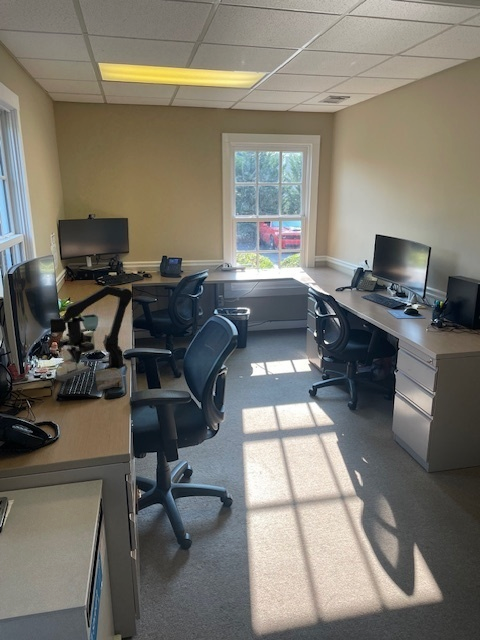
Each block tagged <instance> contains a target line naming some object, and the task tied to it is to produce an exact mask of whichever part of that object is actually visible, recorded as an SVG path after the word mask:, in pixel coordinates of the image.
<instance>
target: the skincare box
mask: <svg viewBox="0 0 480 640" xmlns="http://www.w3.org/2000/svg"><path fill="white" fill-rule="evenodd" d="M82 332H83V333H84V335H87V336H92V339H91V343H92V344H94V348H95V349H93V350H91V351H88V352H82V353H84V354H87V353H90V352H93V351H96V345H95V344H96V343H95V336H94V330H89V331H88V330H86V331H82ZM85 343H90V342H85ZM85 343H82V344H85Z"/></svg>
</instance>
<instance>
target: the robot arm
mask: <svg viewBox="0 0 480 640" xmlns="http://www.w3.org/2000/svg"><path fill="white" fill-rule="evenodd" d="M107 296H113V297H116V298H117V306H116V311H115V313H114V316H113V320H112V324H111V328H110V330H109V333H108V335H107V334H105V335H104V339H103V341H102V343H103V347H104V349H105V351H106V352H107V353H108V365H107V367H108V368H116V369H119V368H121V367H123V366H126V363H124V356H123V355H124V354H123V349H122V348H121V346H119V334H120V330H121V327H122V324H123V319H124V317H125V313H126V309H127V307H128V305H129V304H130V302H131V300H132V298H133V292H132V291H131V290H130V289H129V287H126V286H123V287H116V286H111V285H108V284H107V285H104V286H103V287H102V288H100V289H98V290H96V291H94V292H93V293H92V294H90V295H88V296H86V297H84V298H83V299H80V300H78V301H74V302H72V303H70V304H69V303H68V305H67V306H65V307H66V308H65V312H64V314H63V315H62V317H57V318H50V319H49V322H50V323H49V327H50V334H59V333H65V331H67V333H66V337H68V338H65V339H61V340H59V341H58V342H57V348H60V349H62V348H64V347H65V346H66V347H67V348H66V349H65V350H66V351H67V352H68V353H69V354H70V356H71V358H72V359H73V360H74V362H76V363H79V362H81V356H82V352H88V351H91V350H93V349H95V350H96V347H95V348H94V344H92V343H91V339H92V336H87V335H84V333H83V332H84V331H82V328H81V323H82V321H84V318H82V317H81V316H82V315H81V314H82V313H83V312H84V311H85V310H86V309H87V308H88V307H90V306H92V305H94V304H95V303H97V302H99V301H100V300H102V299H104V298H105V297H107ZM85 342H90V343H85ZM82 343H85V344H82Z"/></svg>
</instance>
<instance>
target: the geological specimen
mask: <svg viewBox="0 0 480 640" xmlns="http://www.w3.org/2000/svg"><path fill="white" fill-rule="evenodd" d="M94 373H95V374H94V375H95V381H96V389H97V392H99V391H102V390H106V389H111V388H123V387H124V381H123V376H122V373H121V370H120V369H119V368H117V369H116V368H111V367H108V368H106V369H100V370H99V369H98V370H95V371H94Z"/></svg>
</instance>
